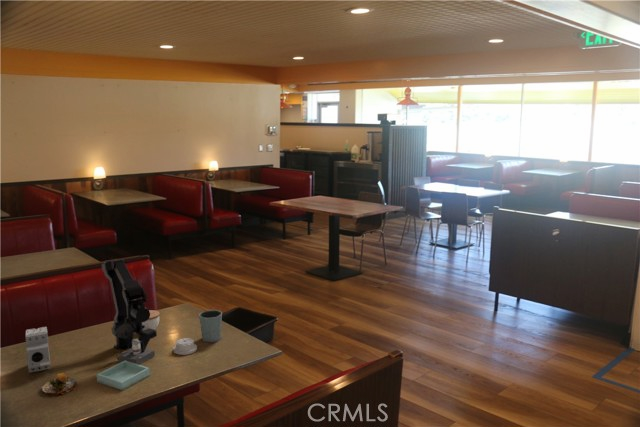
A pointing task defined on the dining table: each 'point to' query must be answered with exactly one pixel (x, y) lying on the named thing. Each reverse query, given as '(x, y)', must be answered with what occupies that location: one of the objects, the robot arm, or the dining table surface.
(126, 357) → the socket block
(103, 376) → the parts tray
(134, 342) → the cylinder
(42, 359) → the circuit breaker
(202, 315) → the blue-grey cup
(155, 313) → the lidded jar
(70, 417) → the dining table surface
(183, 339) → the mechanical component
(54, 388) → the plate of food
